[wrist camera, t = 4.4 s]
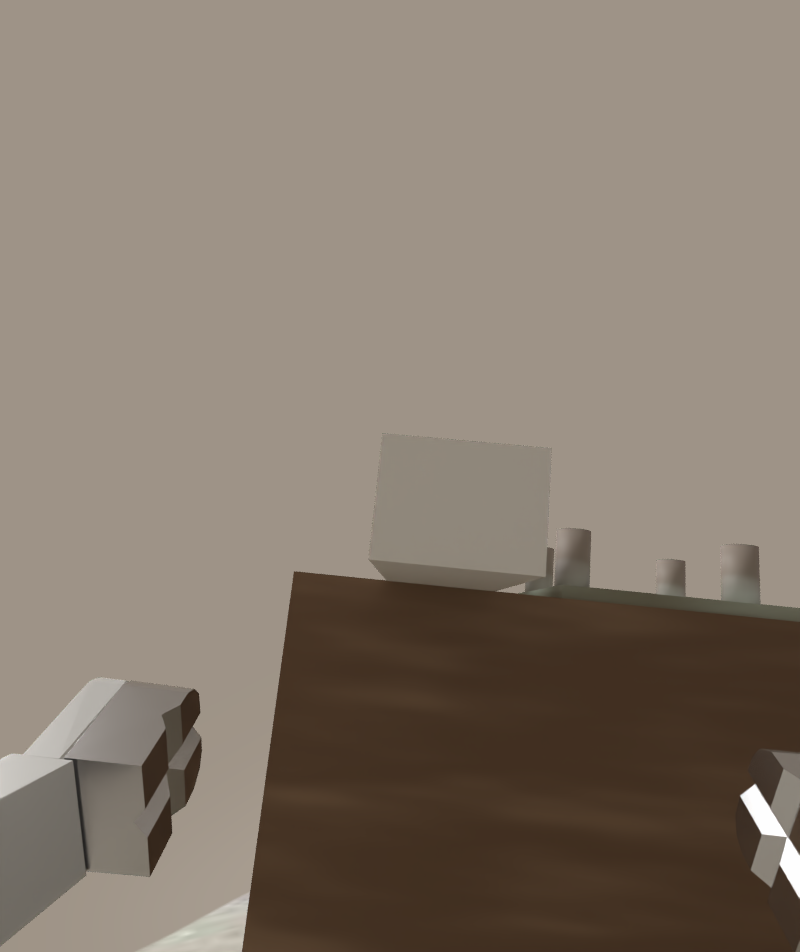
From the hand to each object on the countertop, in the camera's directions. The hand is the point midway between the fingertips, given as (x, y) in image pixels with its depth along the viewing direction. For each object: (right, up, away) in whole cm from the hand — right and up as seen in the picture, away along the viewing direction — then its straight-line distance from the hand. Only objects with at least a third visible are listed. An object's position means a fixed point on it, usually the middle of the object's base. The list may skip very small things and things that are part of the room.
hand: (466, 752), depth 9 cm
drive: (+1, 0, +15) cm, 15 cm away
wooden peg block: (+3, -27, +14) cm, 31 cm away
